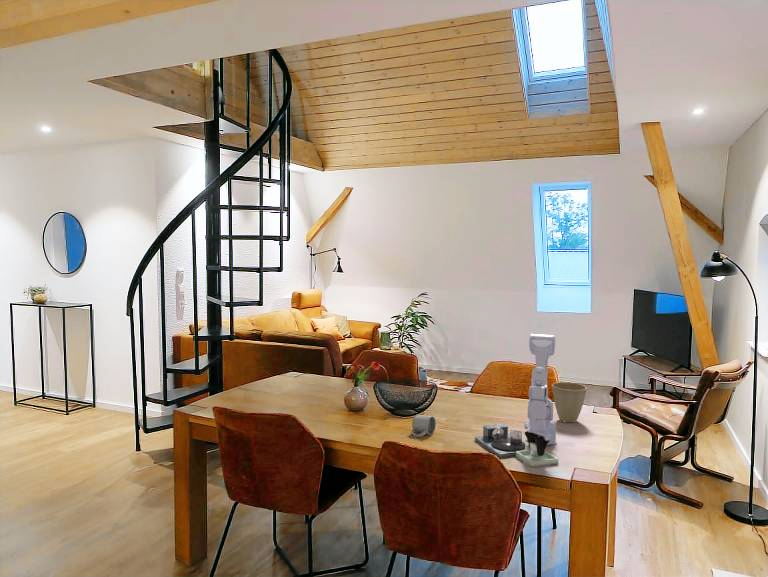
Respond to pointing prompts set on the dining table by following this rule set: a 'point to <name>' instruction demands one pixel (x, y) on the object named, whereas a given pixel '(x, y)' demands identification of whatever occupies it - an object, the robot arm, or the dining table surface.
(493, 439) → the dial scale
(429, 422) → the ceramic mug
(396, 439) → the dining table surface
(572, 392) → the plant pot
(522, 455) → the tray
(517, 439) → the spacer
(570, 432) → the dining table surface
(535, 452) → the cylinder
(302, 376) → the dining table surface
